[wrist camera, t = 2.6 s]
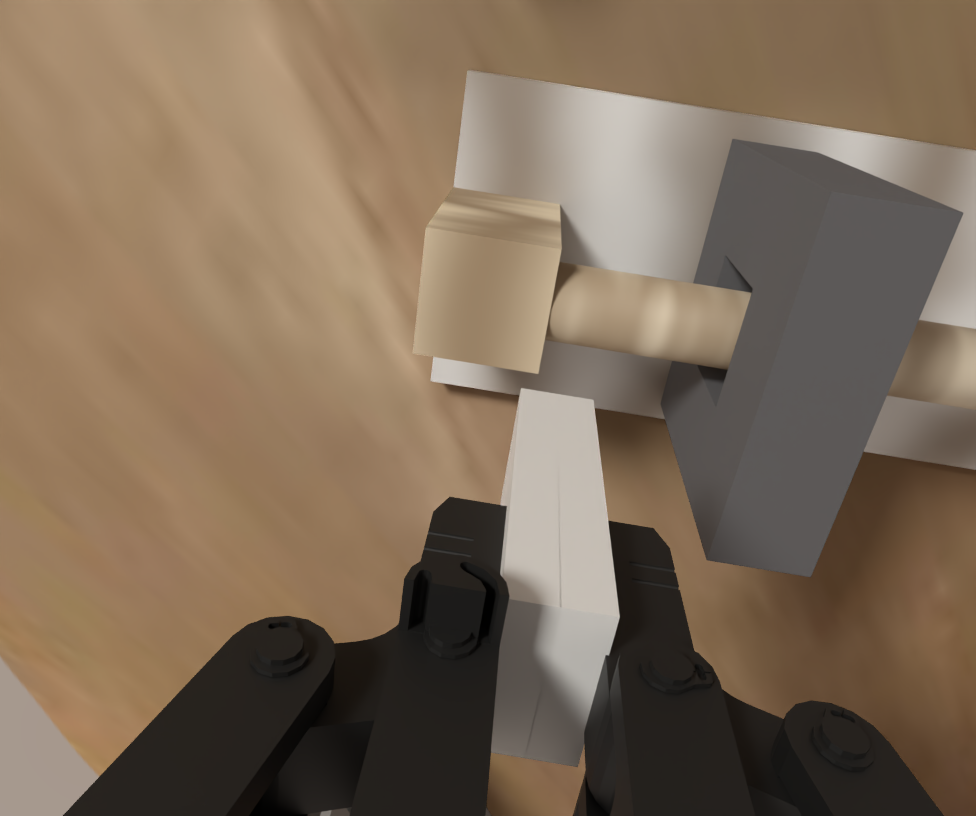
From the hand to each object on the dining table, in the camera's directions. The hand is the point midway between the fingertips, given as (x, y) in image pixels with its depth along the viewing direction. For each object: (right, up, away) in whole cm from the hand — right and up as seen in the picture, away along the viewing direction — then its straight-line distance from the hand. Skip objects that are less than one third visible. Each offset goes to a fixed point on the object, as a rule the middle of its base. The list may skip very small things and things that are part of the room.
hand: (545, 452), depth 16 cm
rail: (+13, +5, +14) cm, 20 cm away
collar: (+8, +5, +13) cm, 16 cm away
